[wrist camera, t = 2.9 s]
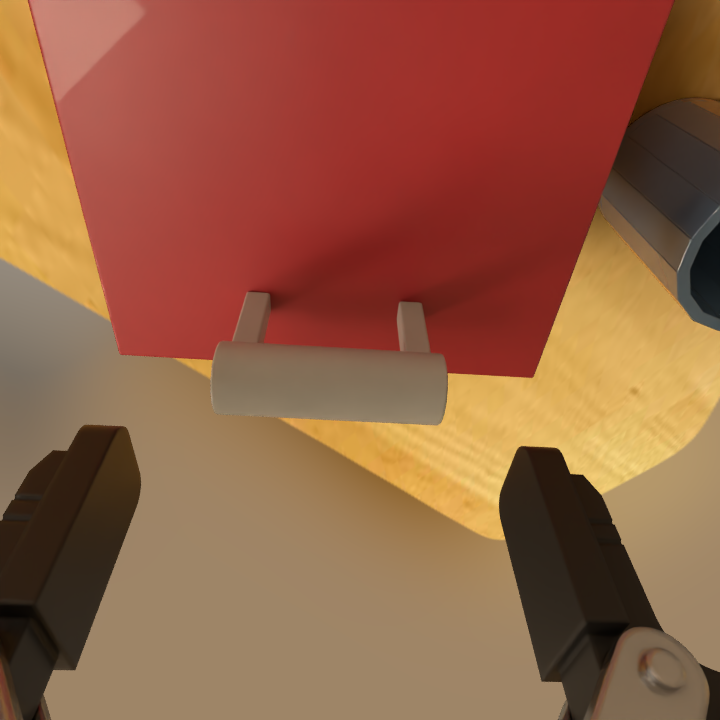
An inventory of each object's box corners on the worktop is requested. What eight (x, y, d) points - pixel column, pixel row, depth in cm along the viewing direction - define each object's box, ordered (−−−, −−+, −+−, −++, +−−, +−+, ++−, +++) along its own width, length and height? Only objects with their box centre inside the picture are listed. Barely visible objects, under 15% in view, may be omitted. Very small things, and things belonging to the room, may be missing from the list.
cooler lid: (527, 364, 18) (576, 485, 14) (126, 340, 18) (59, 462, 14) (824, -461, 8) (1285, -847, 4) (-103, -602, 7) (-655, -1248, 3)
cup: (746, 71, 22) (905, 127, 15) (740, 208, 25) (867, 298, 19) (587, 133, 23) (674, 207, 17) (604, 254, 27) (680, 351, 20)
